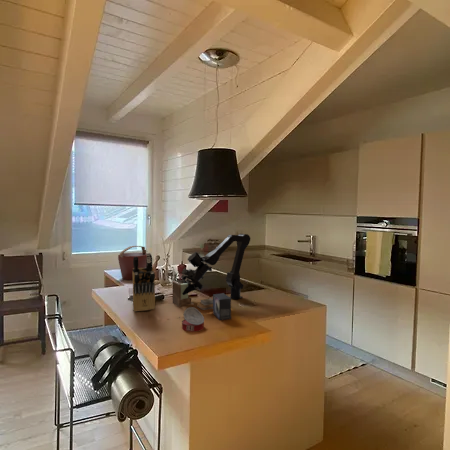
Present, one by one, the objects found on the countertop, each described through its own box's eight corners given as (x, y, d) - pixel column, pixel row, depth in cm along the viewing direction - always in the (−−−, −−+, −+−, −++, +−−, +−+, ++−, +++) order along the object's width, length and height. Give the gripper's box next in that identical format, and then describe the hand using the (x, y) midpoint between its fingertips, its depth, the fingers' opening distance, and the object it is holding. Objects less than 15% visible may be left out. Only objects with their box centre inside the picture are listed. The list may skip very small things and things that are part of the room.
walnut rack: (188, 302, 191) (189, 279, 190) (195, 306, 183) (195, 282, 183) (172, 304, 186) (172, 281, 186) (178, 308, 178) (178, 284, 178)
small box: (212, 314, 169) (212, 293, 169) (223, 312, 171) (224, 292, 171) (218, 320, 159) (219, 299, 159) (231, 319, 162) (231, 298, 161)
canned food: (199, 334, 154) (209, 314, 155) (198, 340, 144) (209, 319, 145) (178, 322, 154) (188, 303, 155) (175, 328, 144) (186, 307, 145)
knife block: (132, 318, 162) (132, 255, 161) (132, 299, 196) (132, 247, 195) (156, 316, 165) (156, 254, 164) (152, 298, 199) (152, 246, 198)
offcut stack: (210, 306, 183) (210, 297, 183) (216, 309, 177) (216, 300, 177) (197, 308, 179) (197, 299, 179) (203, 311, 173) (203, 302, 173)
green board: (186, 302, 186) (186, 283, 186) (188, 303, 185) (188, 283, 184) (179, 303, 184) (179, 283, 184) (181, 304, 183) (181, 284, 182)
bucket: (142, 274, 273) (142, 244, 272) (155, 278, 256) (155, 246, 255) (113, 277, 258) (113, 245, 257) (125, 282, 241) (124, 248, 240)
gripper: (184, 260, 194) (166, 281, 189) (197, 265, 178) (178, 288, 173) (196, 273, 198) (178, 293, 193) (210, 278, 182) (192, 301, 177)
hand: (181, 293), depth 184 cm, fingers open, 3 cm apart
